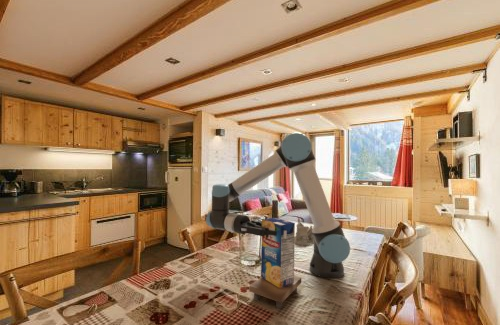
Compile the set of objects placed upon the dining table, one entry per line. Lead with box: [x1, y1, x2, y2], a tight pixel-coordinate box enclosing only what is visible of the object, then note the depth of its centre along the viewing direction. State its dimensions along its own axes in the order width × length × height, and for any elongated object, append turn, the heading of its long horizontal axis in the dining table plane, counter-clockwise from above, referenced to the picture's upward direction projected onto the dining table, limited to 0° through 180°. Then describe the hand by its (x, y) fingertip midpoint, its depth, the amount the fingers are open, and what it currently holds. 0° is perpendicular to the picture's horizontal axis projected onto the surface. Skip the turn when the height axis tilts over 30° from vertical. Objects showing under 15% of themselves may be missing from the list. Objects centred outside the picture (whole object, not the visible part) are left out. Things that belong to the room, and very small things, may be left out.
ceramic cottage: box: [294, 217, 314, 247], centre depth 155 cm, size 16×16×15 cm
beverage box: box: [260, 217, 296, 288], centre depth 91 cm, size 7×11×22 cm, turn 36°
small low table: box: [248, 275, 302, 310], centre depth 90 cm, size 17×13×5 cm
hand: (289, 232), depth 88 cm, fingers closed on beverage box, 5 cm apart
